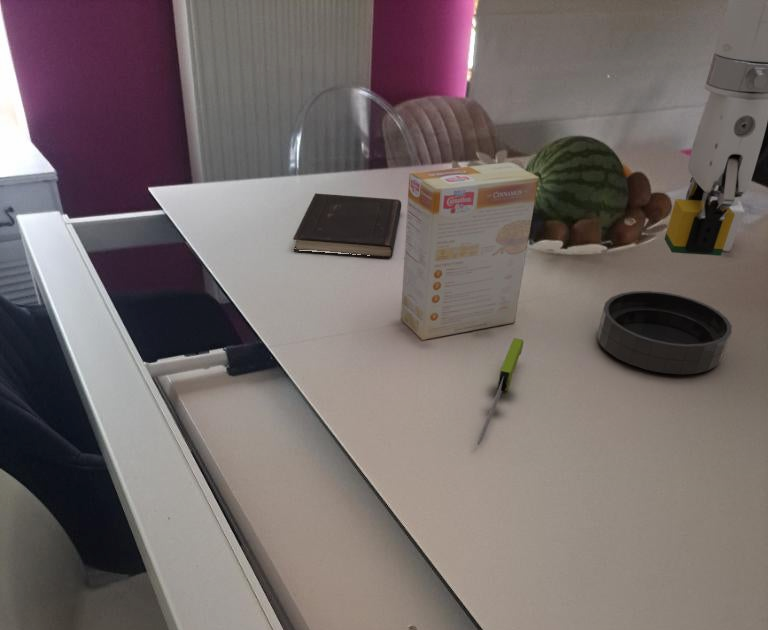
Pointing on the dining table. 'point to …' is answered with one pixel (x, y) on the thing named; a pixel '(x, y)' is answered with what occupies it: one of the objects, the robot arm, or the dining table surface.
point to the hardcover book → (349, 226)
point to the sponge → (683, 223)
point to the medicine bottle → (738, 212)
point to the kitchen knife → (504, 378)
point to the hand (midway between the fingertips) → (693, 242)
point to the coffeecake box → (465, 247)
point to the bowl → (663, 332)
